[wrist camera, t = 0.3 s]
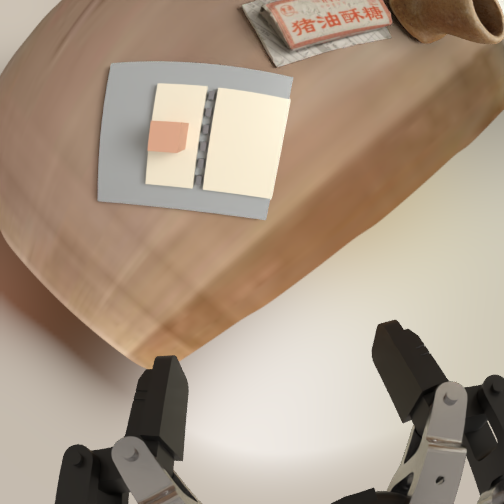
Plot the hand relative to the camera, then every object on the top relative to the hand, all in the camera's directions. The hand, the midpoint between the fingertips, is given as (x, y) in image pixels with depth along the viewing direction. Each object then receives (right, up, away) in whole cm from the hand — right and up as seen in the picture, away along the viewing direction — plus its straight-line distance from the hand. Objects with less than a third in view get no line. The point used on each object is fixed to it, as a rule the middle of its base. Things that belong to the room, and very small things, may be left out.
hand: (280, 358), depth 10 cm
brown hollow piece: (+26, +40, +13) cm, 50 cm away
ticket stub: (-10, +17, +19) cm, 27 cm away
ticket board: (-8, +18, +20) cm, 28 cm away
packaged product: (+8, +34, +15) cm, 38 cm away
